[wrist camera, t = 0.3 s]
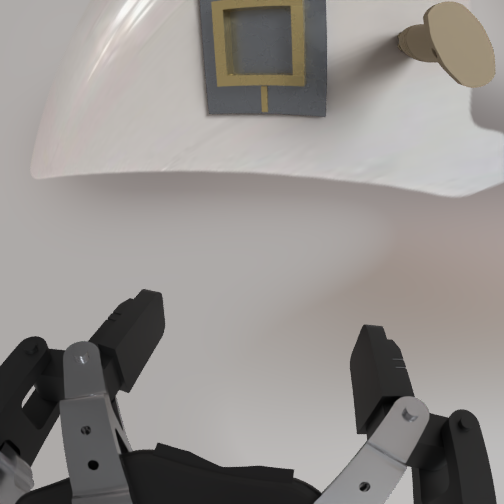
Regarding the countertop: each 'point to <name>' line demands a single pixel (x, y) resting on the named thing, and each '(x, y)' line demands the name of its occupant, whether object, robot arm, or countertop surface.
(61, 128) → the countertop surface
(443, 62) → the handle
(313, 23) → the plate
